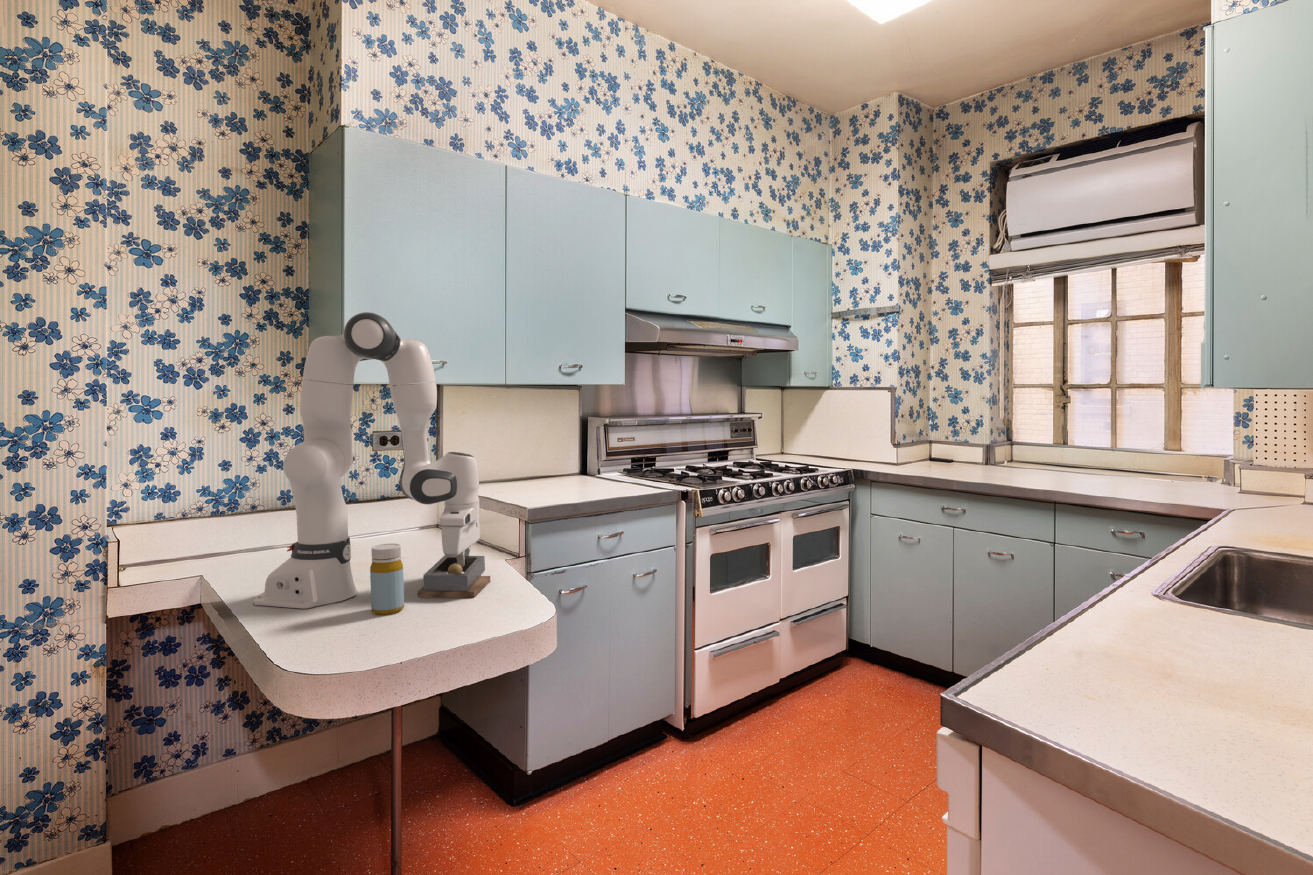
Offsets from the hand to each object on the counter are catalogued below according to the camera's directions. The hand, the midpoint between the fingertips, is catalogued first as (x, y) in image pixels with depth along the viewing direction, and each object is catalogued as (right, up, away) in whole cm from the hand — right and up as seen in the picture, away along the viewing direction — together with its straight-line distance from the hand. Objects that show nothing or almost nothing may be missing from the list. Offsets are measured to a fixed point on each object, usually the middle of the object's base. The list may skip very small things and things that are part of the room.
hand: (463, 564), depth 174 cm
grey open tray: (0, -3, -6) cm, 7 cm away
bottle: (-11, -6, -23) cm, 26 cm away
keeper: (0, -5, -6) cm, 8 cm away
